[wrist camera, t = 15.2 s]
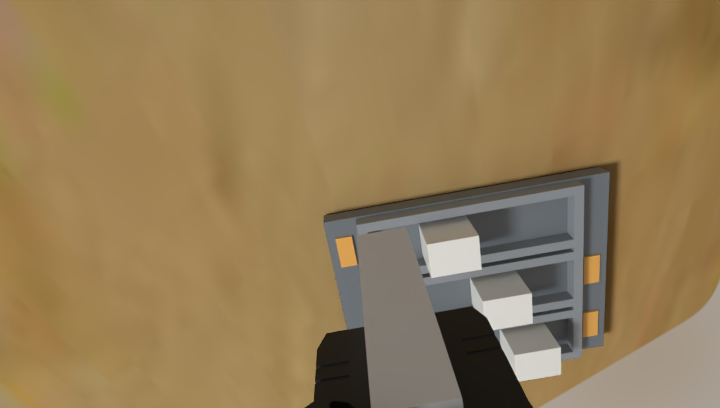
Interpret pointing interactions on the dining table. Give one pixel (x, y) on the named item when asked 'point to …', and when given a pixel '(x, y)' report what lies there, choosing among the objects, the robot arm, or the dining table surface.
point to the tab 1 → (450, 246)
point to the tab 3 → (531, 351)
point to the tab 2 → (502, 299)
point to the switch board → (504, 249)
